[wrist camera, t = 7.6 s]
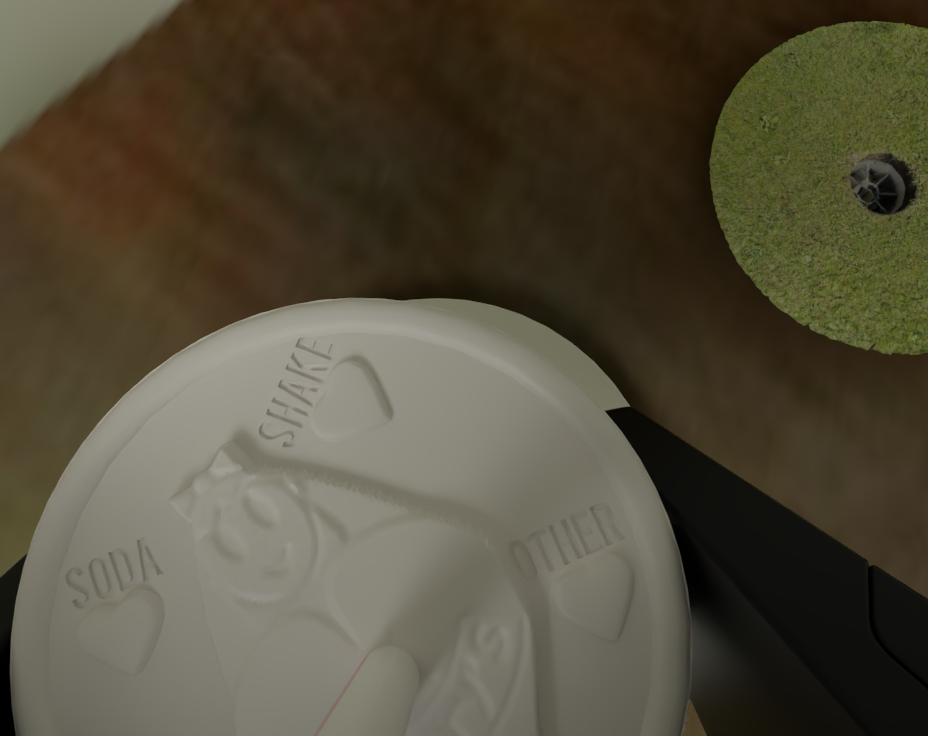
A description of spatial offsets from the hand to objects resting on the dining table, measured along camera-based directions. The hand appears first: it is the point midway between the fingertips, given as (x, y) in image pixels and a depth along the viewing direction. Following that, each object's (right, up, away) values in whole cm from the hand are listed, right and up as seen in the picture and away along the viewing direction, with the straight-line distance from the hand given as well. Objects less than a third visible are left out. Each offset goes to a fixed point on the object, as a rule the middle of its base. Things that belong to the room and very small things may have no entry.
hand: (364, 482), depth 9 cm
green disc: (+15, +7, +15) cm, 22 cm away
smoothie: (0, -3, +7) cm, 8 cm away
